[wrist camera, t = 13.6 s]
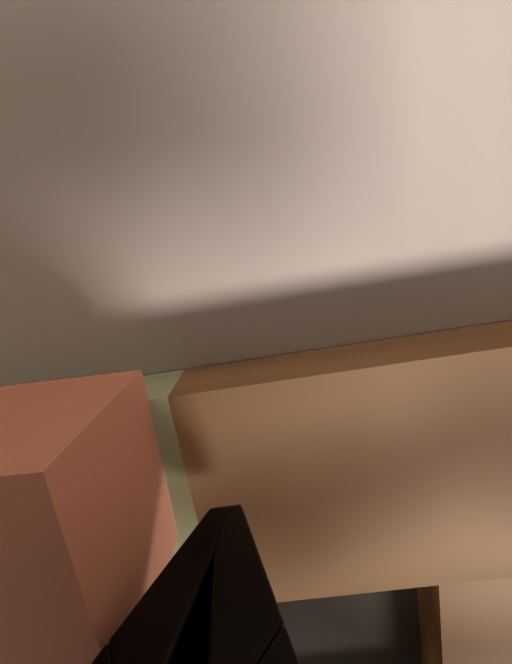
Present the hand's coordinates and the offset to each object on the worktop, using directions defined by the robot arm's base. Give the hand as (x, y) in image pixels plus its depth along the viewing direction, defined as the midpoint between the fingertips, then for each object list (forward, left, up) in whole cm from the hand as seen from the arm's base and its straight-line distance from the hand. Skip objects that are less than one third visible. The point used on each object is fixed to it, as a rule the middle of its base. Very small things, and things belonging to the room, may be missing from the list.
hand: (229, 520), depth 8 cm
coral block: (+1, +4, -1) cm, 5 cm away
